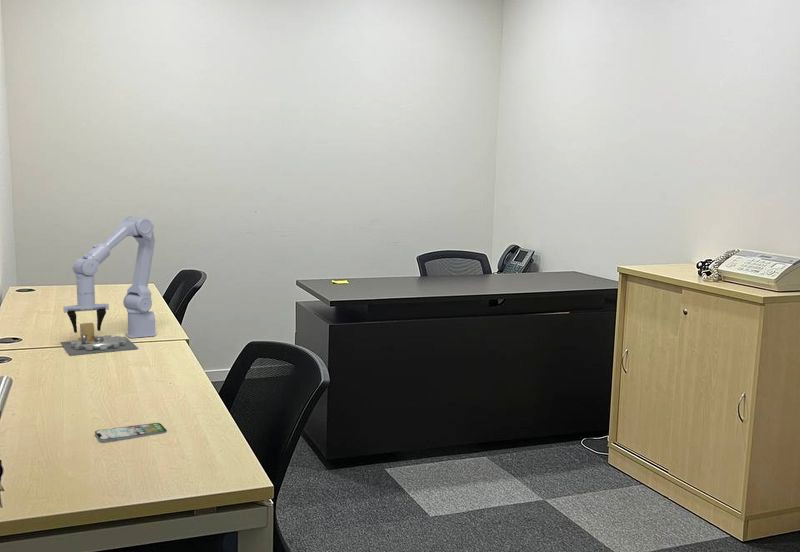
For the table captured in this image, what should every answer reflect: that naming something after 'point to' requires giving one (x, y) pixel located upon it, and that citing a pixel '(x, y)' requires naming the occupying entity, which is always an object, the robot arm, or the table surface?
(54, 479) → the table surface
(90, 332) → the brushed gold block
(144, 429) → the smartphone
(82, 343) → the sprocket
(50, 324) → the table surface
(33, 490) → the table surface
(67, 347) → the plate
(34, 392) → the table surface
